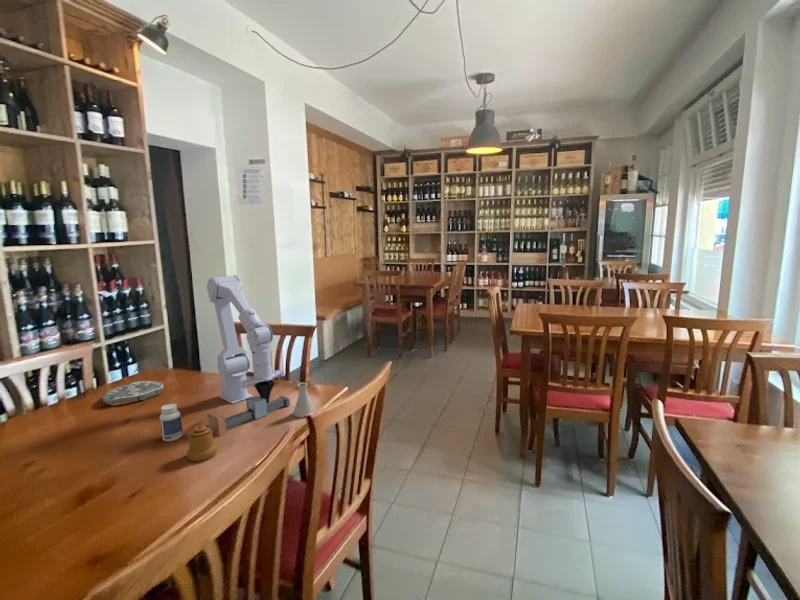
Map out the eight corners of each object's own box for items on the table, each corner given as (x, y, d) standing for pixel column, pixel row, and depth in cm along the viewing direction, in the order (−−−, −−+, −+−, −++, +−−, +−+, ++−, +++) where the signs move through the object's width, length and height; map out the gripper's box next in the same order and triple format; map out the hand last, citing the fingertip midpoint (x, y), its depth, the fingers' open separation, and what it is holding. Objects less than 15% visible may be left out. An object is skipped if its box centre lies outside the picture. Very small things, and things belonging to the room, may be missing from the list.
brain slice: (157, 384, 168) (156, 377, 168) (169, 395, 156) (168, 388, 156) (98, 398, 156) (96, 390, 155) (105, 412, 143) (104, 404, 143)
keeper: (247, 414, 137) (246, 399, 136) (258, 410, 140) (257, 395, 139) (256, 419, 134) (254, 403, 133) (267, 414, 137) (265, 399, 136)
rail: (208, 429, 128) (206, 412, 128) (280, 401, 148) (279, 386, 147) (219, 436, 124) (217, 418, 123) (292, 406, 143) (291, 391, 142)
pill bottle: (187, 434, 125) (183, 404, 124) (170, 443, 120) (166, 411, 119) (174, 431, 128) (170, 401, 126) (158, 439, 123) (154, 408, 121)
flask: (318, 408, 141) (316, 380, 139) (311, 418, 134) (309, 388, 132) (297, 408, 142) (295, 380, 140) (289, 418, 135) (287, 388, 133)
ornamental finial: (220, 446, 118) (213, 461, 111) (192, 449, 117) (183, 464, 110) (217, 420, 117) (210, 432, 109) (189, 422, 115) (179, 435, 108)
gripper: (248, 371, 129) (252, 413, 131) (288, 359, 140) (291, 398, 142) (236, 367, 133) (240, 407, 135) (275, 355, 144) (278, 393, 146)
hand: (265, 402), depth 139 cm, fingers closed
